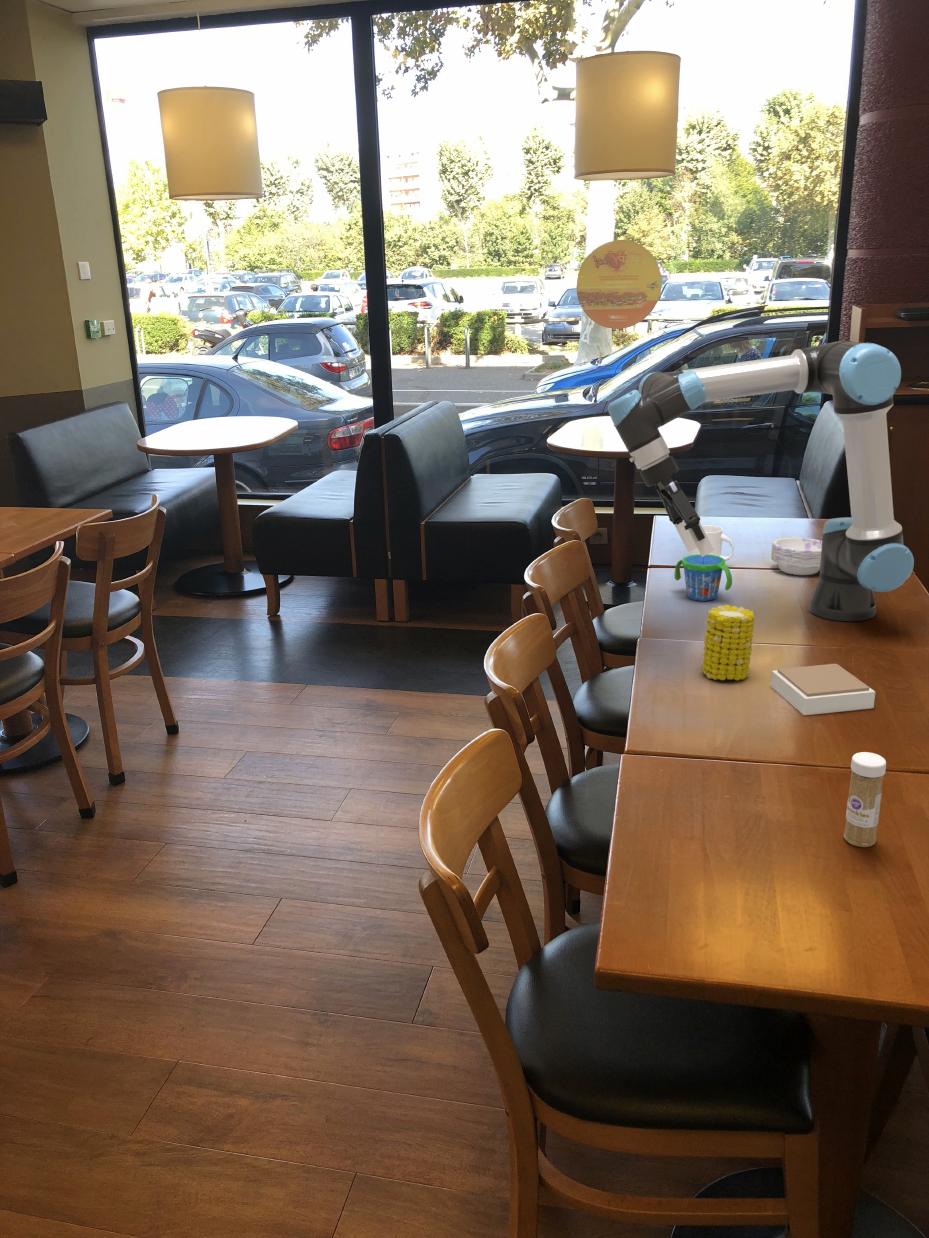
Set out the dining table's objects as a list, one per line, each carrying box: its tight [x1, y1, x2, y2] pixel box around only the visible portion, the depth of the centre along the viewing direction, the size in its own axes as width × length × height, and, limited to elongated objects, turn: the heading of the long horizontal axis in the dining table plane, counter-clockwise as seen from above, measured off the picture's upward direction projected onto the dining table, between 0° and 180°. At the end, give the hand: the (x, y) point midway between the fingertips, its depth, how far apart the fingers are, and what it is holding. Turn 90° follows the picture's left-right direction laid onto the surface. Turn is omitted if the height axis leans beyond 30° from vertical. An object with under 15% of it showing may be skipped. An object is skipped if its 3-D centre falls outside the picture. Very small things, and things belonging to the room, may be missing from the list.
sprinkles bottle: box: [843, 751, 887, 848], centre depth 140 cm, size 5×5×13 cm
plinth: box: [770, 663, 876, 716], centre depth 189 cm, size 14×14×4 cm
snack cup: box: [673, 554, 733, 602], centre depth 248 cm, size 16×10×10 cm
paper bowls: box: [770, 536, 822, 576], centre depth 267 cm, size 15×15×8 cm
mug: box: [689, 524, 735, 562], centre depth 274 cm, size 9×12×11 cm
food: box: [701, 604, 756, 681], centre depth 200 cm, size 15×12×10 cm
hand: (701, 551), depth 206 cm, fingers open, 13 cm apart
